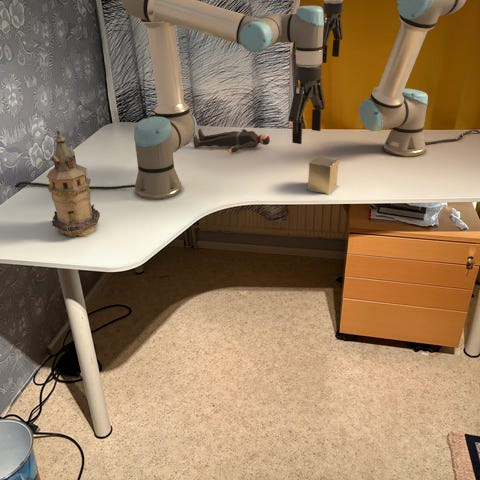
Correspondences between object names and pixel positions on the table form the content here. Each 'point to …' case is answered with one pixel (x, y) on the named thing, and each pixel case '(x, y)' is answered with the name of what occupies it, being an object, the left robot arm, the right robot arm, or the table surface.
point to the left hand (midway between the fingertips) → (306, 136)
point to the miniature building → (70, 193)
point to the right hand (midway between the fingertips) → (329, 59)
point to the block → (323, 174)
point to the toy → (231, 140)
